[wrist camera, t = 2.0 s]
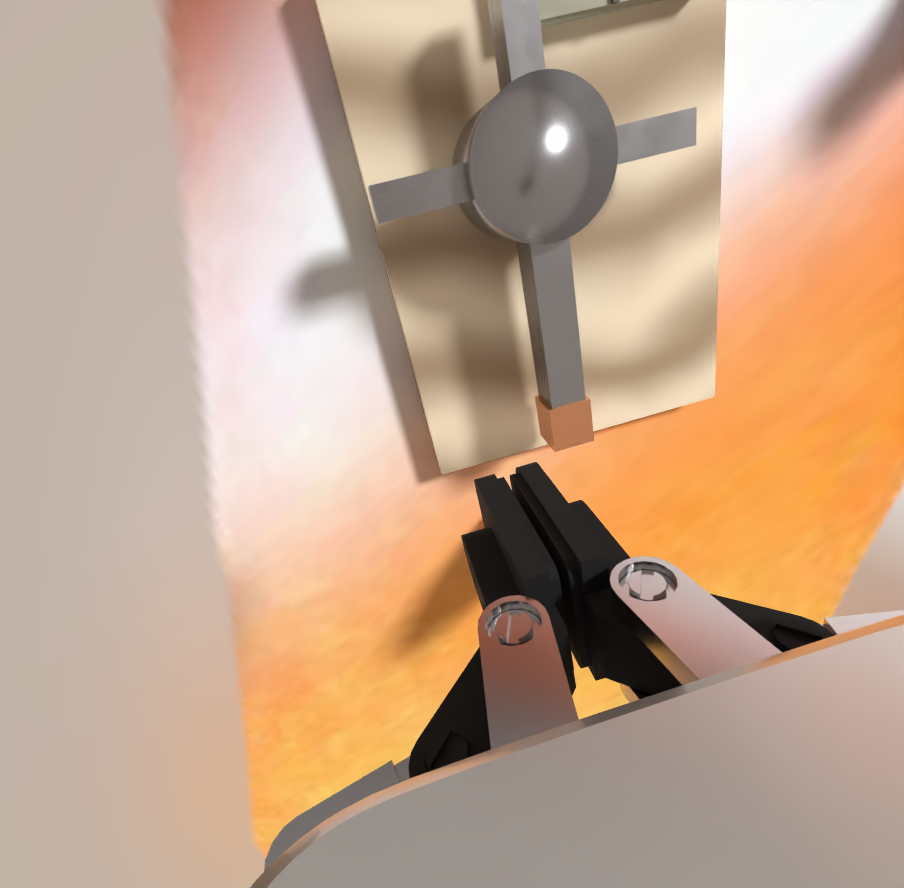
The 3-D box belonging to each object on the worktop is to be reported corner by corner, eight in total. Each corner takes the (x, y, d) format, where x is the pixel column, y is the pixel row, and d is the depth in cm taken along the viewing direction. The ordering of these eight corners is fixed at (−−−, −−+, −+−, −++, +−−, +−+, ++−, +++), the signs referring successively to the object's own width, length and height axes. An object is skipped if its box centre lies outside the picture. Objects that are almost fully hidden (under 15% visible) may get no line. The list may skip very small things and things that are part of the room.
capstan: (320, 17, 20) (312, -34, 16) (645, -53, 20) (715, -117, 17) (435, 451, 28) (449, 488, 25) (657, 388, 29) (704, 414, 26)
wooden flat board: (307, -26, 20) (300, -63, 18) (705, -109, 22) (755, -156, 19) (437, 463, 31) (445, 486, 28) (698, 388, 32) (729, 404, 30)
